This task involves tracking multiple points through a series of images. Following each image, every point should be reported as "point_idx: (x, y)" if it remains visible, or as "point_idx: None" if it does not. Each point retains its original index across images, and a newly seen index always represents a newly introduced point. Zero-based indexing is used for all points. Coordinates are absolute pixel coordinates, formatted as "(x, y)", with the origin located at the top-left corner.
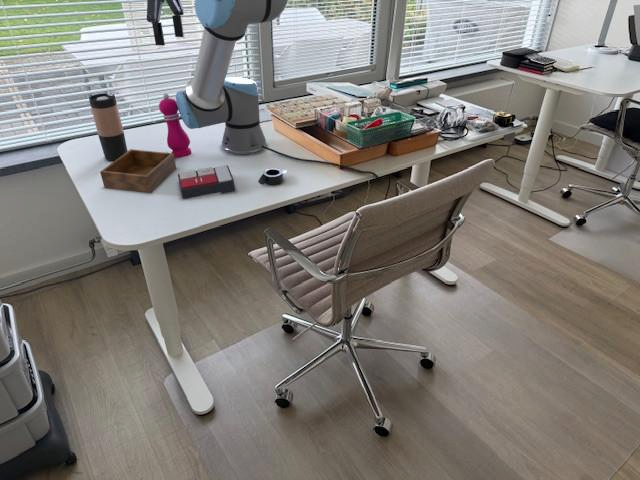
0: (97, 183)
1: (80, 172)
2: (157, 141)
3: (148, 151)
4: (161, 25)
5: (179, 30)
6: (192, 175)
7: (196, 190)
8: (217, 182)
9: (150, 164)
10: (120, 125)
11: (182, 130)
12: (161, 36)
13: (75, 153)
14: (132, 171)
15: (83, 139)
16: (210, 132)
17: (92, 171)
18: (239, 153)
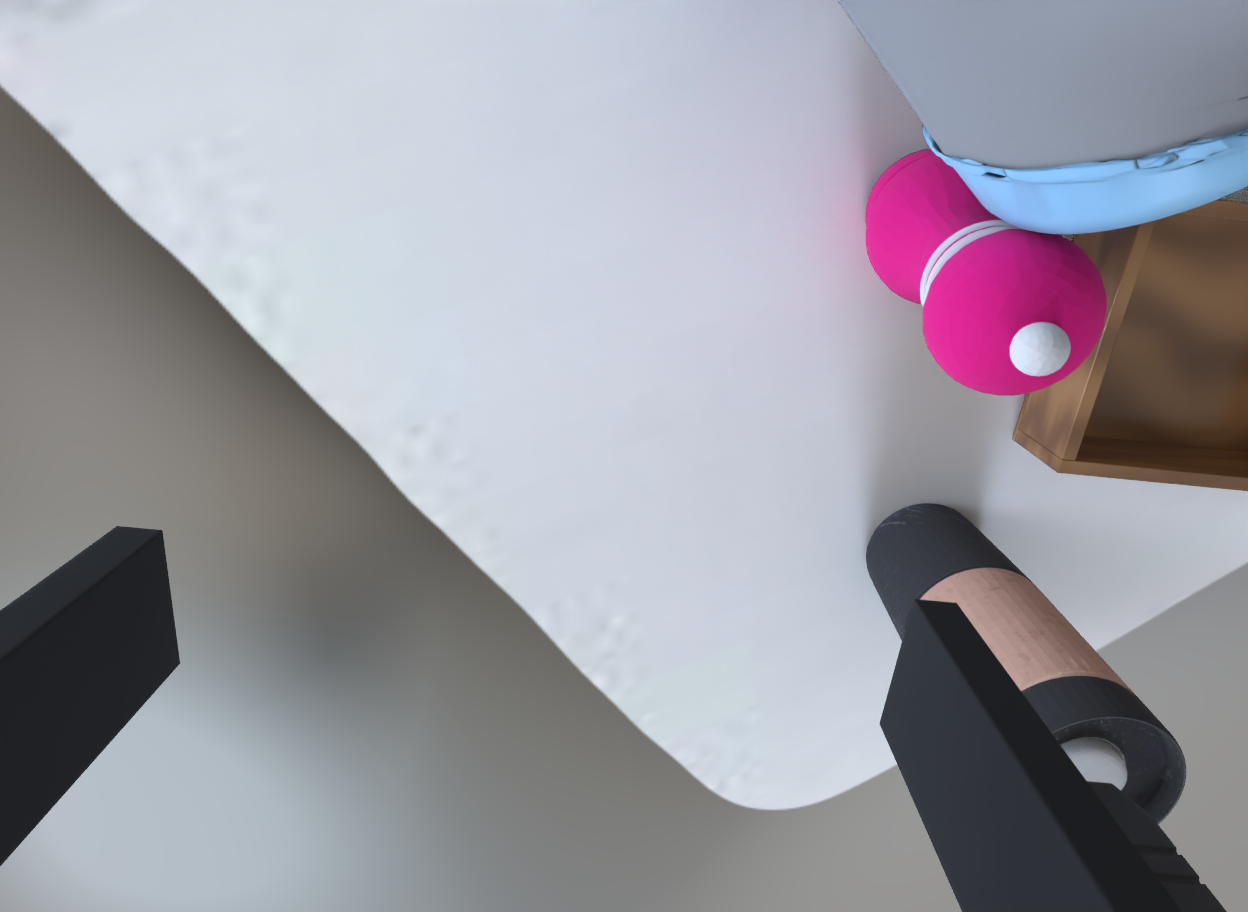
0: (1217, 515)
1: (1086, 631)
2: (693, 437)
3: (1103, 360)
4: (1118, 892)
5: (86, 646)
6: None
7: None
8: None
9: None
10: (1010, 592)
11: (974, 197)
12: (1023, 719)
13: (872, 737)
14: (1114, 409)
15: (705, 776)
16: (499, 156)
17: (1080, 589)
18: None
